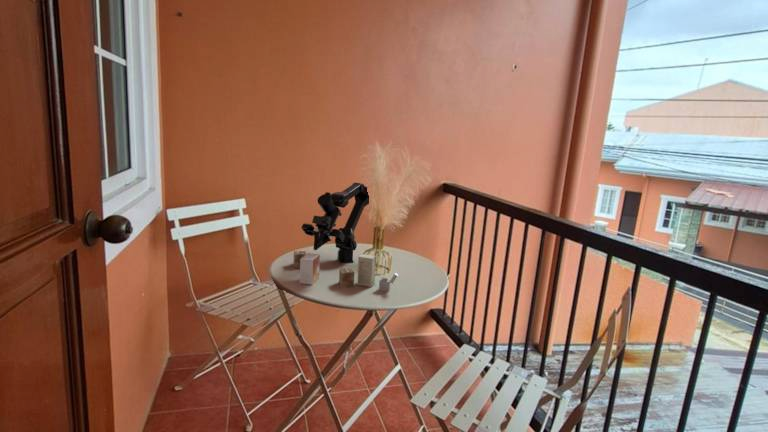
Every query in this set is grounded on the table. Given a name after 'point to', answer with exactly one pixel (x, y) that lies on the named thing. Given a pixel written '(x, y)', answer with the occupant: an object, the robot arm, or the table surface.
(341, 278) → the walnut block one
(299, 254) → the walnut block seven
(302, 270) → the small box
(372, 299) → the table surface
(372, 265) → the skincare box
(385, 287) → the lighter
